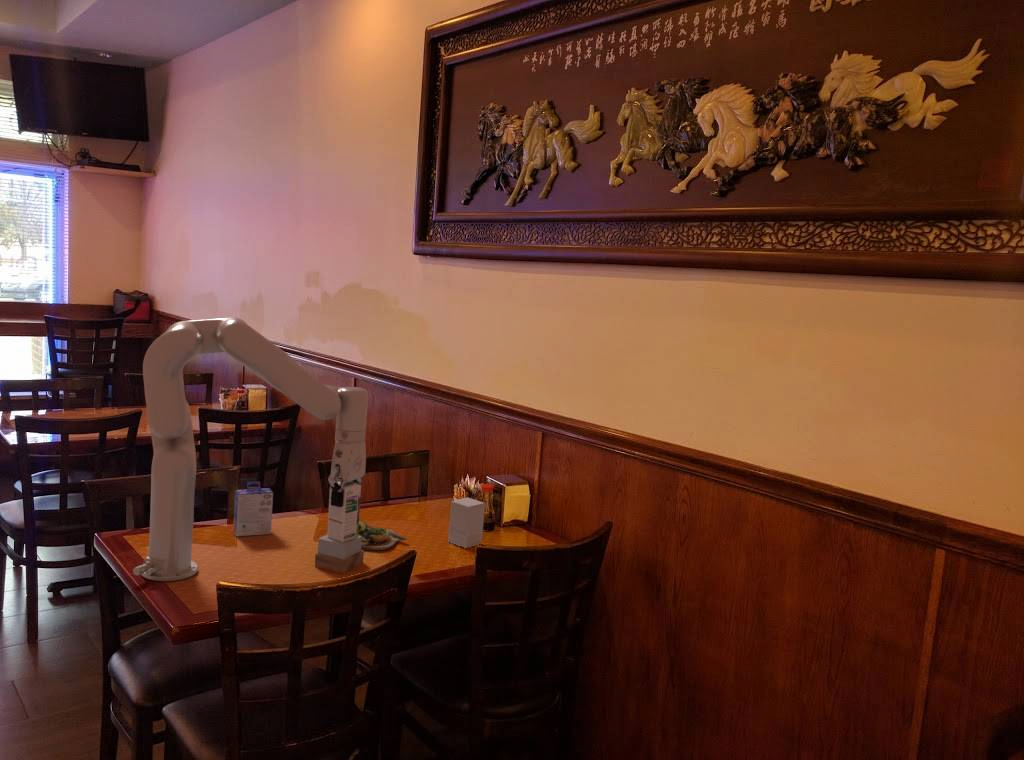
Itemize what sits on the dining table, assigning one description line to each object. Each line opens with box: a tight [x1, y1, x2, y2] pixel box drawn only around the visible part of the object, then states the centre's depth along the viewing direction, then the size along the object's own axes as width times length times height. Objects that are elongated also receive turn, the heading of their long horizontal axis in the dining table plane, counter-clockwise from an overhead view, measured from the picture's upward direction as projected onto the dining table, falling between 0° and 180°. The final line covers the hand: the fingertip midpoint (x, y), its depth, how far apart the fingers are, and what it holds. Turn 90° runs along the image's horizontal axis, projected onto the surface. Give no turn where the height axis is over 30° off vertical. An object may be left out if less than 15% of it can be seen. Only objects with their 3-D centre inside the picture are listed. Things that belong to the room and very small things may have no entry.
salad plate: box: [358, 518, 407, 551], centre depth 226 cm, size 19×18×5 cm
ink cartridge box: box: [232, 480, 274, 537], centre depth 222 cm, size 10×6×14 cm, turn 120°
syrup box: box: [326, 481, 362, 542], centre depth 204 cm, size 6×6×14 cm
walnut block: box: [314, 549, 365, 575], centre depth 206 cm, size 9×9×4 cm
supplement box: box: [447, 497, 486, 549], centre depth 231 cm, size 7×7×13 cm
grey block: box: [317, 534, 362, 560], centre depth 205 cm, size 8×8×4 cm
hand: (345, 501), depth 204 cm, fingers open, 7 cm apart
